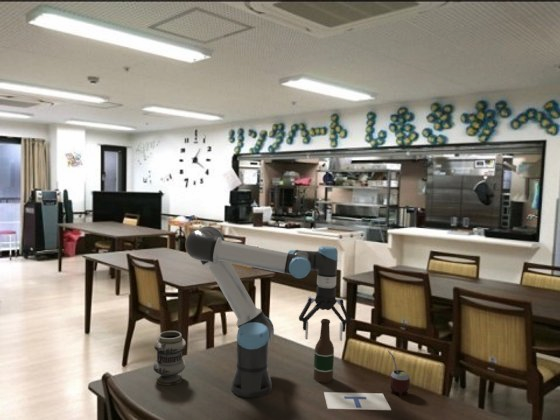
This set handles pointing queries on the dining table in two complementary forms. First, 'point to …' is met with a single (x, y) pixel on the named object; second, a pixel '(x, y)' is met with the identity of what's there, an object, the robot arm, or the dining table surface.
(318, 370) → the beer bottle
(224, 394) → the dining table surface
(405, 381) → the mate gourd
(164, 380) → the apothecary jar
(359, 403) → the letter card
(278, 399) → the dining table surface
